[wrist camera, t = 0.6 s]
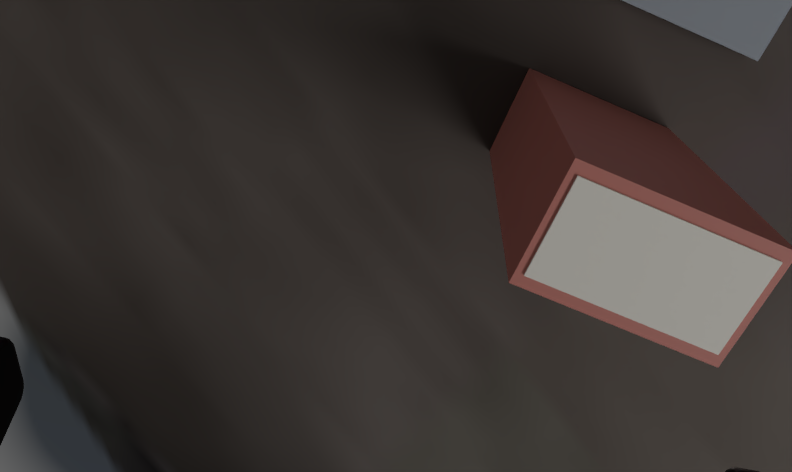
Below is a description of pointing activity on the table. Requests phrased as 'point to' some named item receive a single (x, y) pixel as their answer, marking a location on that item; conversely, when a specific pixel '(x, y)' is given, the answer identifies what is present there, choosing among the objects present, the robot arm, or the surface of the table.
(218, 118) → the table surface
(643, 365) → the table surface
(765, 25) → the bookstand
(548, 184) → the book
